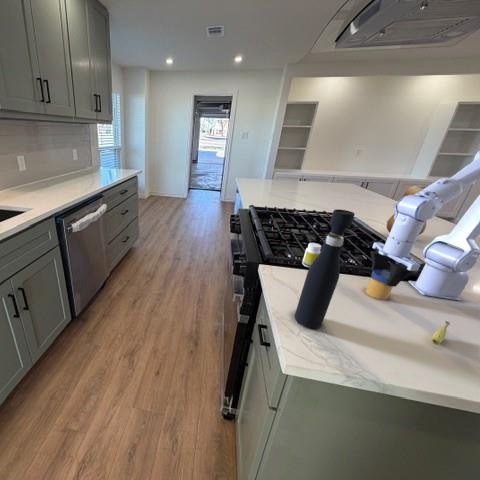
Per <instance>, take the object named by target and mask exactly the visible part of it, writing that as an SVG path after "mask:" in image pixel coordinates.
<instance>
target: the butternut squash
mask: <svg viewBox="0 0 480 480" xmlns="http://www.w3.org/2000/svg"><path fill="white" fill-rule="evenodd" d="M426 187H427V186H425V185H412V186H410V187H408V188H407V189H406V190H405V192H404V193H403V194H402V195H401V198H403V197H405V196H408V195H415V194H417V193H418V192H420V191H422V190H423V189H425V188H426ZM394 216H395V213H393V214H392V216H390V218H388V220H387V221H386V229H387V232H388V233H389V234H390V231H391V229H392V227H393V224H394V222H395V220H394ZM427 222H428V220H426V221H425V223H424V225H423V227H422V229H421V231H420V233H419V235H418V237H419V236H420V235H421V234H423V233H424V232H425V230H426V227H427V224H428V223H427Z"/></svg>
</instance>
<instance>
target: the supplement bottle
mask: <svg viewBox="0 0 480 480" xmlns="http://www.w3.org/2000/svg"><path fill="white" fill-rule="evenodd" d="M321 250H322V245H321V244H320V243H316V242H309V243H308V245H307V247H306V248H305V250H304V251H305V252H304V254H303V257H302V262H301V264H302V265H303V266H304V267H306V268H308V269H309V268H310V266H311V264H312V263H313V261H314V260H315V259H316V257H317V256H318V255H319V254H320V252H321Z"/></svg>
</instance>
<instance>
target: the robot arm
mask: <svg viewBox="0 0 480 480" xmlns="http://www.w3.org/2000/svg"><path fill="white" fill-rule="evenodd" d="M479 179H480V150H478V151H477V152H476V154H475V156H474V158H473V160H472V162H470V163H469V164H467V165H466V166H464V167H462V169H460V170H459V171H457V172H456V173H455V174H453V175H452V176H450V177H443V178H439V179H437V180H436V181H435V182H433V183H431V184H430V185H428V186H425V187H426V188H425V189H423V190H422V191H420V192H418V193H417V194H415V195H408V196H405V197H403V198H402V197H401V198H400V199H399V200H398V201H397V203H395V205H394V214H395V216H394V220H395V222H394V224H393V227H392V229H391V231H390V233H389V234H388V236H387V239H386V241H385V243H383V242H377V241H374V242H373V245H372V247H371V248H372V249H374V250H371V251H370V252H369V254H370V257H371V273H372V272H373V270H375V269H379V270H384V269H385V267H386V265H387V264H388V263H389V261H391V259H392V260H394V261H395V262H397V263H390V264H389V266H390V267H389V268H390V271H389V272H390V276H389V278H388V281H387V285H388V286H393V288H395V287H397V286H398V285H399V284H400V283H401V282H402V281H403V280H404V279H406V278H407V277H408V276H410V275H411V274H414V273H415V272H418V271H419V269H420V267H421V264H420V263H418V262H417V261H416V260H414V258H413V257H411V256H410V254H411V252H412V250H413V248H414V246H415V244H416V242H417V240H418V237H419V236H420V235H419V233H420V231H421V229H422V227H423V225H424V223H425V221H426V220H427V221H429V220H430V219H432V218H434V217H435V216H436V214H437V213H438V212H439V211H440V210H441V208H442V207H443V205H445V204H447V203H448V202H451V201H452V200H453V199H455V198H456V197H458V196H460V195H461V194H462V193H463V188H464V187H467V186H468V185H470V184H472V183H474V182H476V181H478V180H479ZM418 235H419V236H418ZM479 236H480V194H479V195H477V197H476V199H475V200H474V201H473V203H472V204H471V205H470V207H468V209H467V210H466V212H464V214H463V215H462V217H461V218H460V220H459V221H458V223H456V225H455V226H454V228H453V229H452V230H451V232H450V233H448V234H443V235H438V236H435V237H434V239H433V240H432V241H431V242H430V243H428V244H427V245H426V246H425V247H424V248H423V250H422V257H423V258H424V260H423V261H424V262H425V264H424V266H423V268H422V270H421V272H420V273H419V276H418V278H417V280H415V281H414V280H408V284H410V285H411V286H412V287H413V288H415V289H416V290H417V291H418V293H420V294H421V295H422V296H428V297H434V298H441V299H448V300H455V301H461V298H460V296H461V294H462V293H463V291H464V290H465V288H466V286H467V284H468V282H469V278H470V277H469V273H468V271H469V270H471V269H473V267H475V265H476V263H477V261H478V258H479V256H480V247H479V246H478V244H477V243H476V242H475V241H476V239H478V237H479Z"/></svg>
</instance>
